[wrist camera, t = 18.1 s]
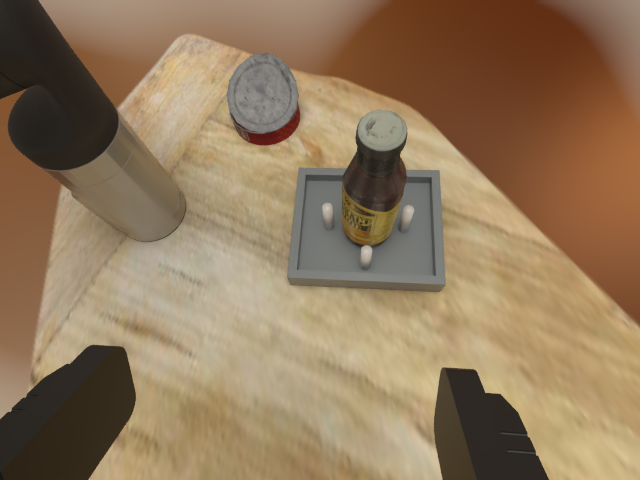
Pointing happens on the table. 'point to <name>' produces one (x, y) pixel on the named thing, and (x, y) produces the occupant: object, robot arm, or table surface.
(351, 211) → the sauce bottle
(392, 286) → the pin tray
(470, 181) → the table surface
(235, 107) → the canned food
